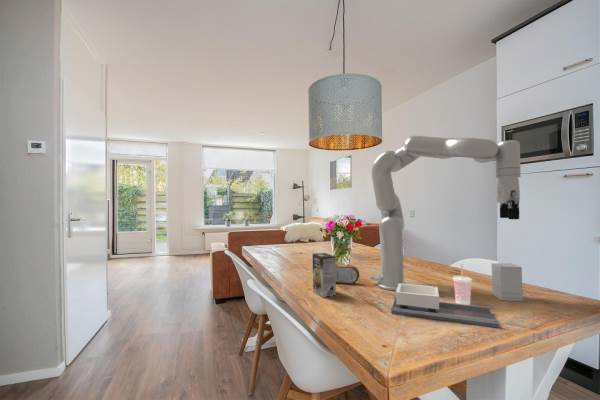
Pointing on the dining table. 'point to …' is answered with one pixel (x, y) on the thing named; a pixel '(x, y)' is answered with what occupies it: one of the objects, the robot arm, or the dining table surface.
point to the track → (451, 313)
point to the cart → (417, 296)
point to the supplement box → (507, 281)
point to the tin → (346, 274)
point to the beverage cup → (462, 288)
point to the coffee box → (324, 274)
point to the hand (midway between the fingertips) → (509, 218)
